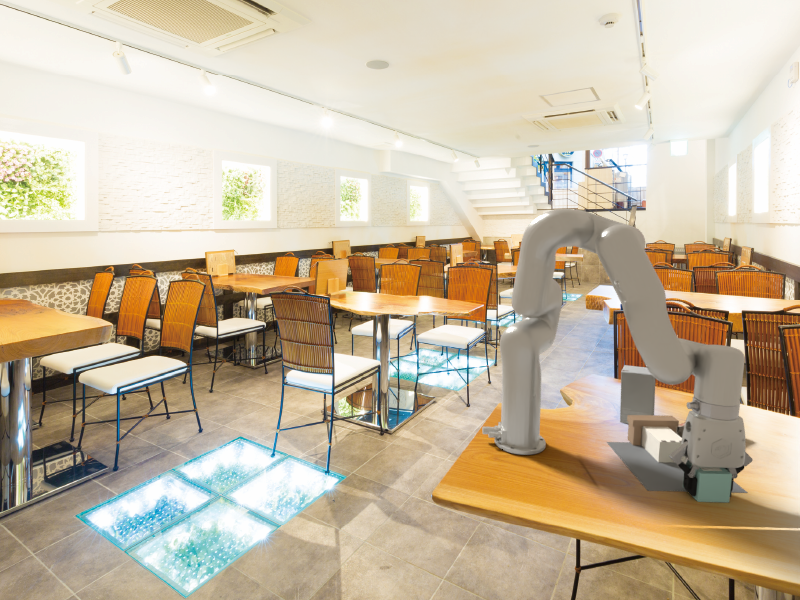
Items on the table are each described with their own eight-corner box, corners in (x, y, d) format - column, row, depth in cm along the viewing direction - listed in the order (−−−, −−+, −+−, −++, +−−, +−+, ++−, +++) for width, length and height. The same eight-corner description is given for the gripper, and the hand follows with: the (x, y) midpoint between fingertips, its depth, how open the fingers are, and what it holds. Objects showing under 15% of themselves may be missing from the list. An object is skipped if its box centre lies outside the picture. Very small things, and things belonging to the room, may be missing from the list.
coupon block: (647, 462, 107) (649, 435, 106) (625, 438, 118) (626, 414, 117) (696, 462, 106) (698, 435, 105) (669, 439, 118) (671, 415, 117)
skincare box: (653, 421, 130) (658, 367, 127) (651, 431, 124) (656, 374, 121) (620, 415, 134) (624, 363, 132) (617, 424, 128) (621, 369, 126)
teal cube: (697, 501, 91) (700, 473, 90) (682, 486, 96) (685, 459, 95) (729, 502, 91) (732, 473, 90) (712, 487, 96) (715, 459, 95)
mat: (647, 492, 95) (647, 490, 95) (606, 443, 117) (606, 441, 117) (747, 494, 94) (747, 492, 94) (687, 444, 116) (687, 443, 116)
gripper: (680, 415, 87) (672, 502, 90) (775, 416, 86) (764, 505, 89) (660, 400, 94) (654, 482, 97) (747, 401, 93) (738, 483, 96)
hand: (707, 492), depth 93 cm, fingers closed on teal cube, 6 cm apart
